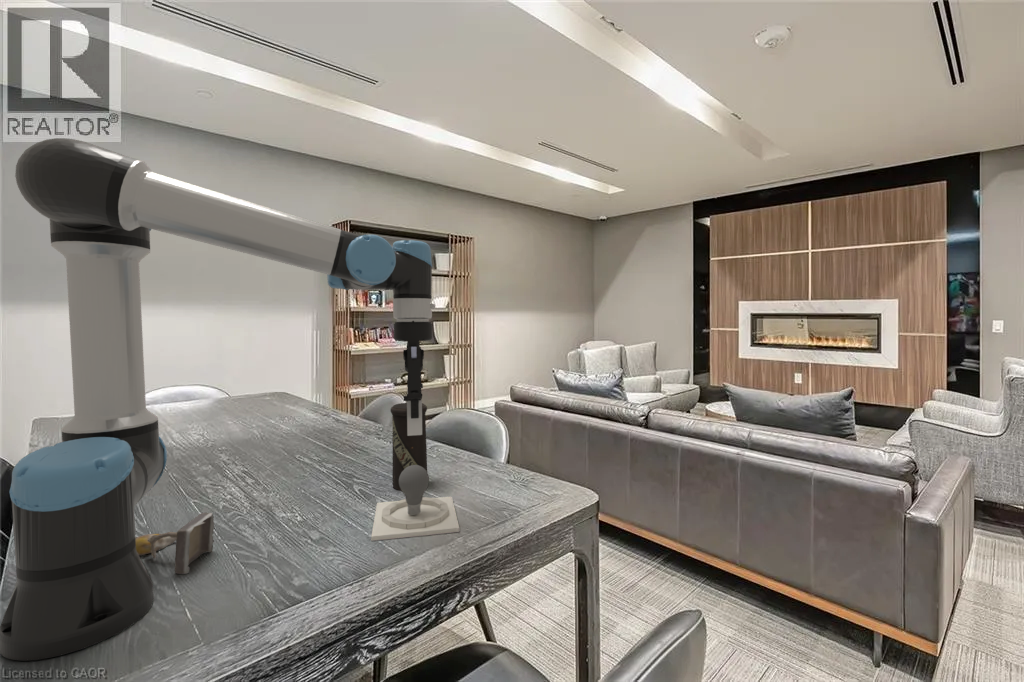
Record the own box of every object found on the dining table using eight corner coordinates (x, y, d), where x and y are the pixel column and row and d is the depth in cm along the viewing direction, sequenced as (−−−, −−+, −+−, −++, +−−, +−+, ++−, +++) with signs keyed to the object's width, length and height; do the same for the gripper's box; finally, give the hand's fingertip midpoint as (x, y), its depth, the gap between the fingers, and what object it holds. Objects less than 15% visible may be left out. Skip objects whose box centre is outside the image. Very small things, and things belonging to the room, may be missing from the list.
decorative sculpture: (115, 562, 78) (113, 519, 78) (173, 536, 88) (171, 498, 87) (185, 578, 73) (183, 532, 73) (238, 549, 83) (237, 508, 82)
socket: (459, 531, 88) (459, 522, 88) (371, 540, 85) (371, 531, 85) (451, 500, 104) (451, 492, 104) (377, 506, 101) (377, 498, 100)
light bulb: (422, 522, 91) (422, 471, 90) (393, 519, 92) (393, 469, 92) (433, 509, 97) (433, 462, 96) (406, 507, 98) (406, 460, 98)
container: (383, 487, 112) (382, 404, 111) (408, 476, 120) (407, 399, 119) (412, 493, 108) (410, 407, 107) (435, 481, 116) (435, 401, 115)
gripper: (435, 320, 81) (437, 441, 82) (429, 320, 106) (430, 413, 107) (391, 320, 80) (393, 444, 81) (395, 320, 104) (396, 415, 105)
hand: (414, 426), depth 94 cm, fingers open, 13 cm apart
